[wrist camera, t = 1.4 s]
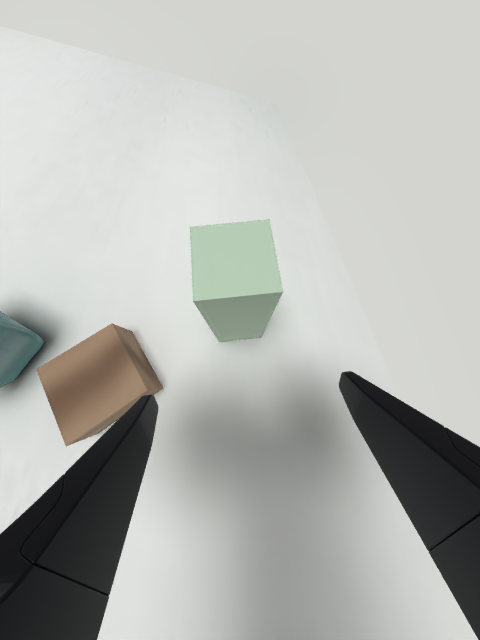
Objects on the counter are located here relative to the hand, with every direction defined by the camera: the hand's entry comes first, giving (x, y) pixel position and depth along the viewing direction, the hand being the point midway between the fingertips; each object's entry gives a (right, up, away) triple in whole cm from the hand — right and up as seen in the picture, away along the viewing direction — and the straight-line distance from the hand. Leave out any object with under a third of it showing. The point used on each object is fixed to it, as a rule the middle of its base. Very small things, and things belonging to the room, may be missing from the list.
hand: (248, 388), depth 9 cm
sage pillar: (-1, +3, +15) cm, 15 cm away
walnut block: (-15, -4, +13) cm, 20 cm away
